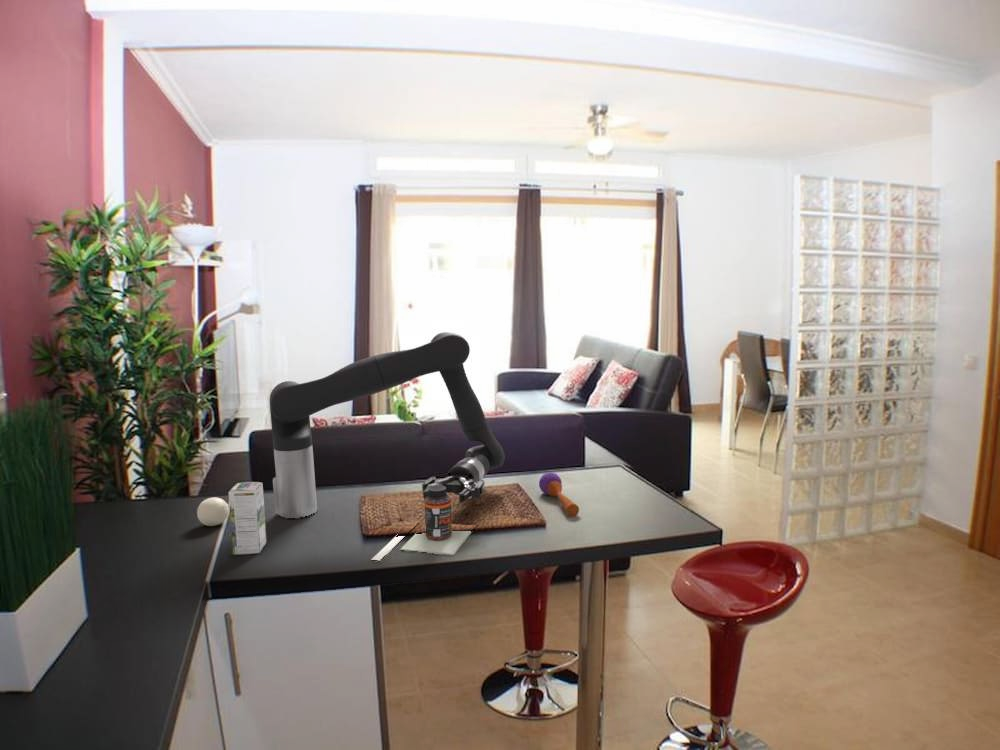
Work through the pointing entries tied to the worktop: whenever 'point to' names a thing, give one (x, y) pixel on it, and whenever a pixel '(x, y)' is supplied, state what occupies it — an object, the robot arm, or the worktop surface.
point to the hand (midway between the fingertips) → (443, 497)
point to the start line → (388, 548)
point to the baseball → (212, 511)
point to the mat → (437, 543)
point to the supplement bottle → (438, 513)
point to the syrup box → (247, 518)
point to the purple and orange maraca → (557, 492)
